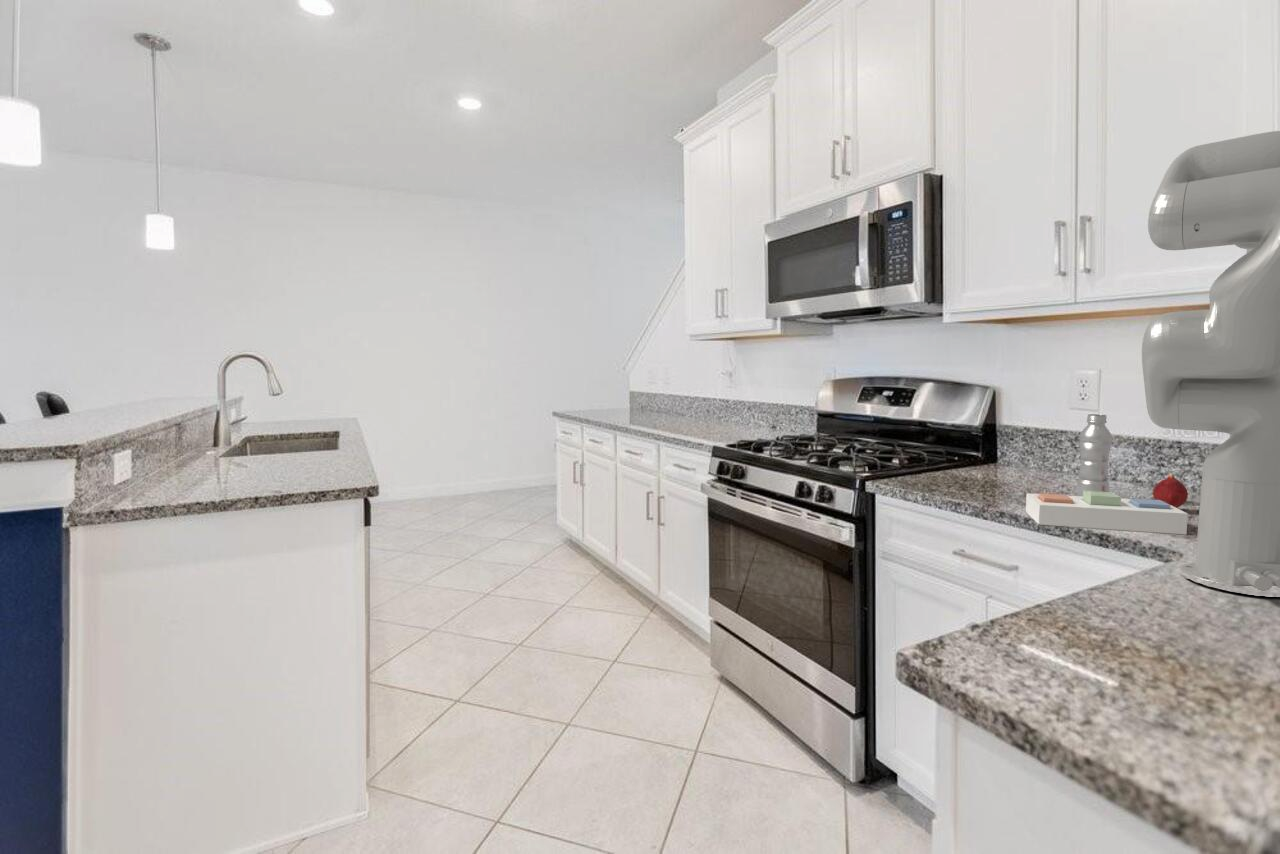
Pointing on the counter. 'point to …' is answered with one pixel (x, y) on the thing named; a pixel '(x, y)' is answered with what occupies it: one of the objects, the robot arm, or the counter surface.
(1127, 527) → the button panel
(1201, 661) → the counter surface
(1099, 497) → the sage key
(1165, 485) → the onion
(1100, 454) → the plastic bottle
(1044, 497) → the terracotta key
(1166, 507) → the slate key
